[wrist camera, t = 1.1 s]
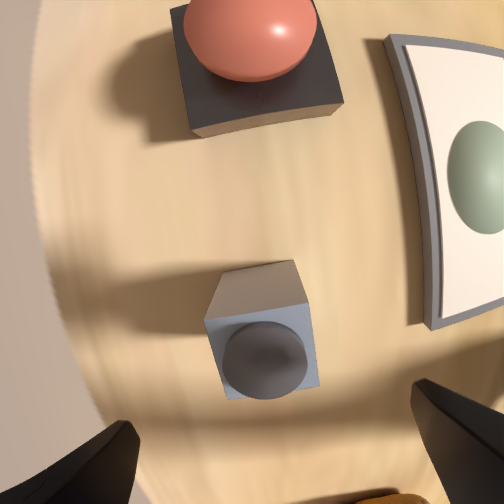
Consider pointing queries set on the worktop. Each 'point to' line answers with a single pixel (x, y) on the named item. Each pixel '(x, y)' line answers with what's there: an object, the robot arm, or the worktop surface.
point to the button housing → (255, 89)
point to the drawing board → (455, 169)
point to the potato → (396, 499)
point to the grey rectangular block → (262, 332)
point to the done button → (250, 36)
